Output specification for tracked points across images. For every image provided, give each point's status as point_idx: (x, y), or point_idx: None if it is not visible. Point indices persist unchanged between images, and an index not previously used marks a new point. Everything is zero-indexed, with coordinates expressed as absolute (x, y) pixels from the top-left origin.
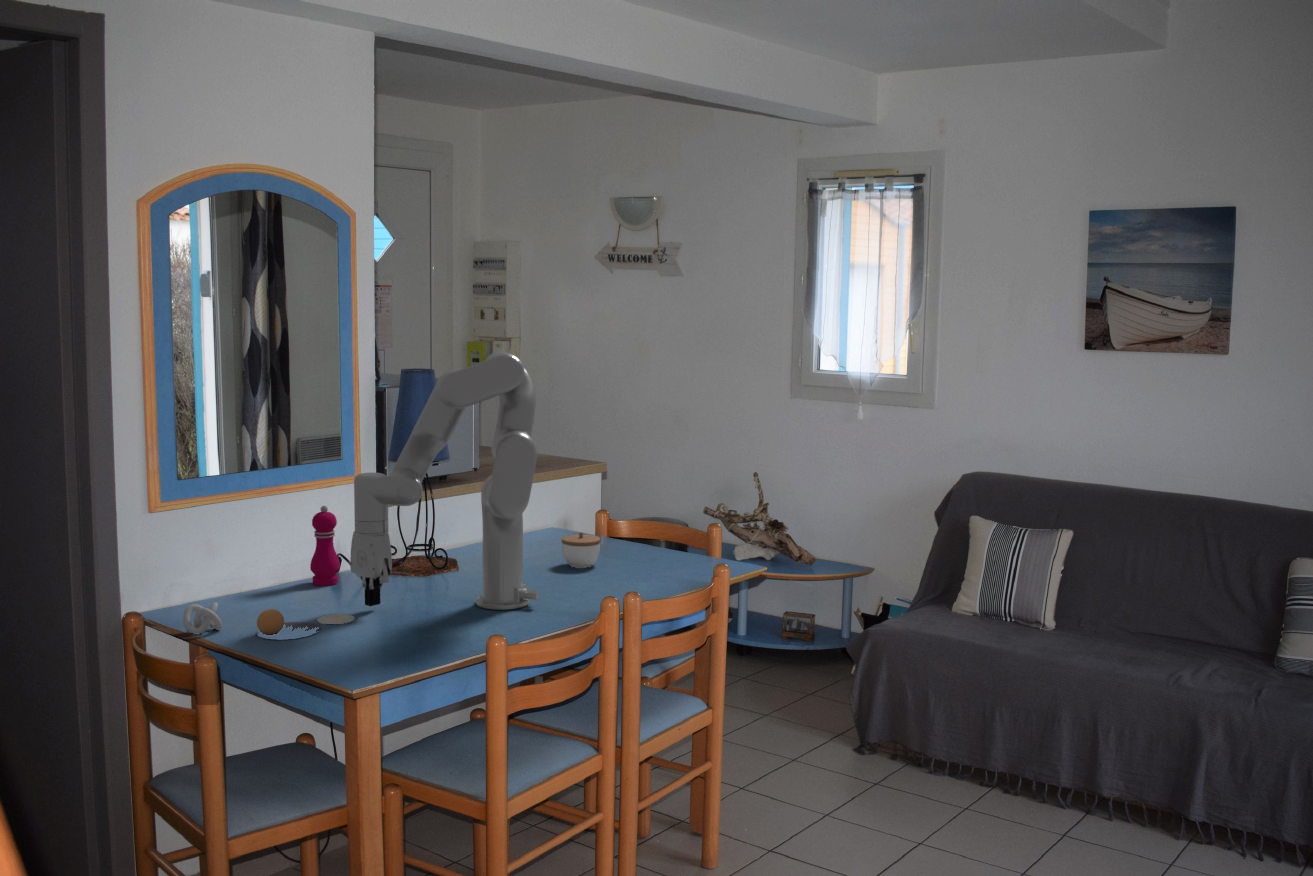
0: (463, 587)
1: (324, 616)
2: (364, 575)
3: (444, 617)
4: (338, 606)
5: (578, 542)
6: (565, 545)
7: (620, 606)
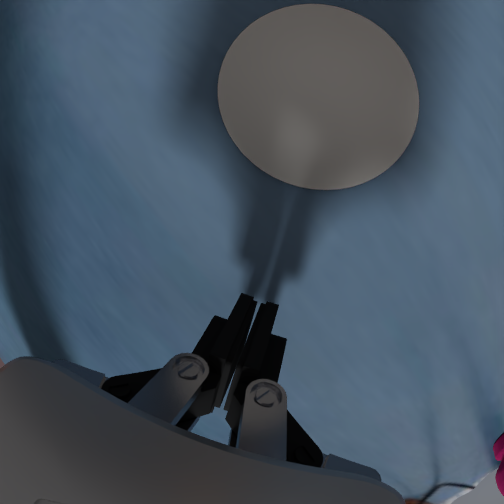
0: None
1: (409, 105)
2: (150, 426)
3: (48, 305)
4: (448, 307)
5: None
6: None
7: None
